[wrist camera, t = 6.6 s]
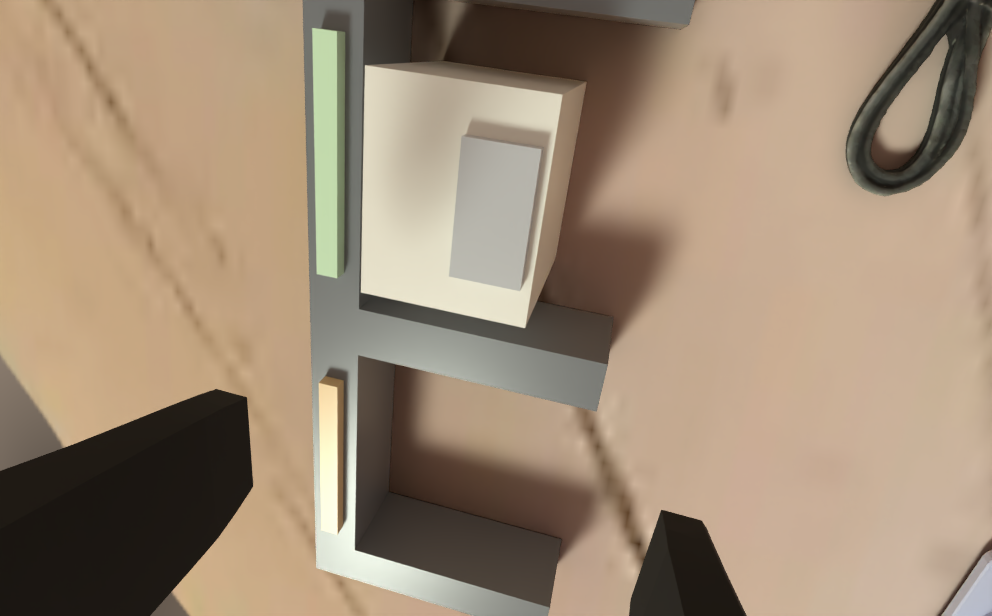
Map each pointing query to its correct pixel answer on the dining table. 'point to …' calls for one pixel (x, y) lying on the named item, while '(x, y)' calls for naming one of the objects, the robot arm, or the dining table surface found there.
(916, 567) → the dining table surface
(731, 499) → the dining table surface
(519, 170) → the plug
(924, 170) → the composite cable
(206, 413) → the robot arm
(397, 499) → the socket panel
